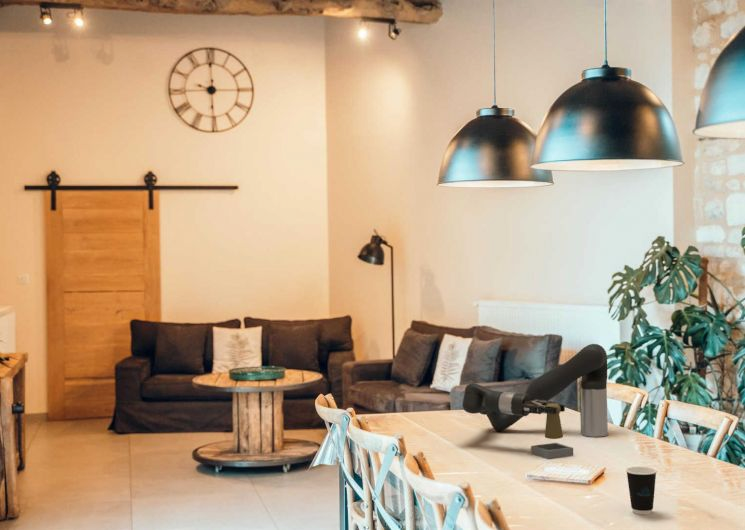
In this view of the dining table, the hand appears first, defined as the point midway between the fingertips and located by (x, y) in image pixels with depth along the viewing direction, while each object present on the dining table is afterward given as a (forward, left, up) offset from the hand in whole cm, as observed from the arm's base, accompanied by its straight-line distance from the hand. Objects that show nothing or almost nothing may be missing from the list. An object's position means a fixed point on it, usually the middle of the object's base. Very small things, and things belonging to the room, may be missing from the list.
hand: (560, 409), depth 318 cm
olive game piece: (-3, -1, -9) cm, 10 cm away
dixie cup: (+67, -21, -16) cm, 72 cm away
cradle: (-3, -2, -15) cm, 16 cm away
